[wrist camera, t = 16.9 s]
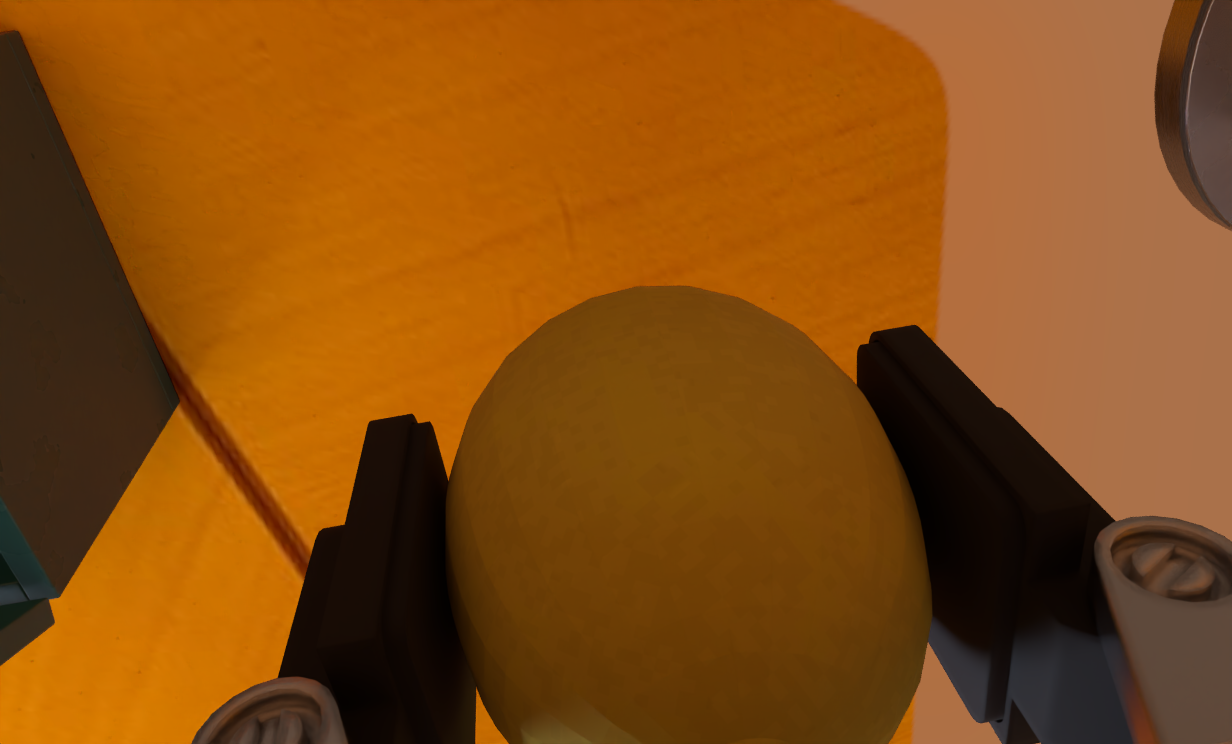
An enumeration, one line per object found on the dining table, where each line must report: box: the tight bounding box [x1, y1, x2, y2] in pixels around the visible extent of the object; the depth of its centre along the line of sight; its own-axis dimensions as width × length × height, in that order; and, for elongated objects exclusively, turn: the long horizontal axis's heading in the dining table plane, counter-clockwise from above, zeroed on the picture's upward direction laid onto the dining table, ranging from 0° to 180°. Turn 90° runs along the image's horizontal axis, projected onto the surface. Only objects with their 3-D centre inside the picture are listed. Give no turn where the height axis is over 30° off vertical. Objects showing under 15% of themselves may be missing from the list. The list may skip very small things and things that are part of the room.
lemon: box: [445, 286, 932, 744], centre depth 11 cm, size 6×6×8 cm
